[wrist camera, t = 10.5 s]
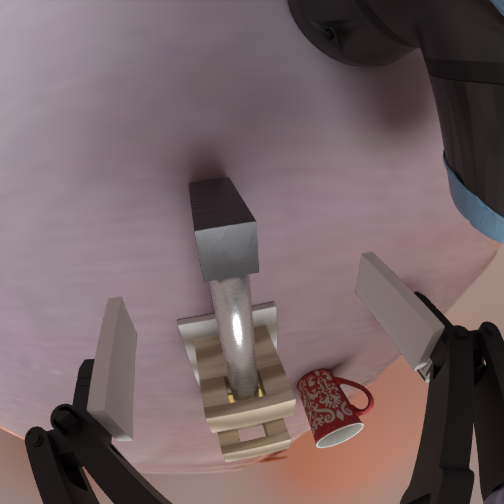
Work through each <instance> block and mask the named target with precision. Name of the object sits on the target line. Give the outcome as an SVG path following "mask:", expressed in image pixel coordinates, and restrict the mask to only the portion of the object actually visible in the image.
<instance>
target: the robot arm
mask: <svg viewBox="0 0 504 504" xmlns="http://www.w3.org/2000/svg"><path fill="white" fill-rule="evenodd" d="M288 1H289V6H290V9H291V12H292V15H293V17H294V19H295V21H296V23H297V25H298V26H299V28H300V29H301V31H302V32H303V33H304V35H305V36H306V37H307V38H308V39H309V40H310V41H311V42H312V43H313V44H314V45H315V46H316V47H317V48H318V49H320V50H321V51H322V52H324V53H325V54H327V55H328V56H330V57H332V58H333V59H335V60H338V61H340V62H342V63H345V64H348V65H353V66H360V67H368V66H382V65H386V64H389V63H392V62H394V61H396V60H398V59H399V58H401V57H403V56H405V55H406V54H408V53H410V52H412V51H413V50H415V49H417V48H421V51H422V54H423V57H424V60H425V63H426V66H427V70H428V74H429V78H430V82H431V85H432V89H433V93H434V98H435V102H436V106H437V111H438V116H439V121H440V126H441V132H442V138H443V145H444V151H443V161H444V164H445V167H446V169H447V173H448V180H449V188H450V193H451V196H452V199H453V201H454V204H455V205H456V207H457V209H458V210H459V212H460V213H461V214H462V215H463V217H464V218H466V219H467V220H469V221H470V223H471V225H472V226H473V227H474V228H476V229H477V230H478V231H480V232H481V233H483V234H484V235H486V236H488V237H489V238H491V239H493V240H495V241H497V242H500V243H503V244H504V0H288ZM355 293H356V294H357V295H358V297H359V298H360V299H361V300H362V302H363V303H364V304H365V306H366V307H367V308H368V309H369V311H370V312H371V313H372V315H373V316H374V317H375V319H376V320H377V321H378V323H379V324H380V325H381V326H382V328H383V329H384V330H385V332H386V333H387V334H388V336H389V337H390V339H391V340H392V341H393V343H394V344H395V345H396V347H397V348H398V349H399V351H400V352H401V354H402V355H403V356H404V358H405V359H406V360H407V362H408V363H409V364H410V366H411V367H412V369H413V370H414V371H415V370H417V369H419V368H421V367H423V366H425V365H426V363H427V361H428V359H429V358H430V359H431V360H432V364H431V365H430V367H429V369H428V370H427V372H426V375H425V376H427V375H428V374H429V372H430V379H429V389H428V397H427V405H426V412H425V419H424V424H423V430H422V436H421V441H420V446H419V450H418V455H417V459H416V463H415V467H414V471H413V475H412V479H411V482H410V485H409V487H408V489H407V490H406V491H405V493H404V495H403V496H402V499H401V501H400V504H470V499H471V494H472V489H473V484H474V472H473V471H472V470H470V469H469V462H470V454H471V445H472V434H473V422H474V429H475V436H476V443H477V452H478V462H479V477H480V488H481V494H482V498H483V504H504V340H503V338H502V336H501V333H500V332H499V329H498V328H497V326H496V325H494V324H493V323H491V322H483V323H482V324H481V326H480V327H479V329H478V330H473V331H468V330H467V329H466V328H465V327H462V326H459V325H457V326H453V325H452V324H451V323H450V322H449V321H448V319H447V318H446V317H445V316H444V315H443V314H442V313H441V312H440V311H439V310H438V309H436V307H435V306H434V305H433V303H431V301H430V300H429V299H428V298H427V297H426V296H424V295H423V294H421V293H419V292H414V293H413V292H412V291H411V290H410V289H409V288H408V286H407V285H406V284H405V283H404V282H403V281H402V280H401V279H400V278H399V277H398V276H397V275H396V274H395V273H394V272H393V271H392V270H391V269H390V268H389V267H388V266H387V265H385V264H384V263H383V262H382V261H381V260H380V259H379V258H378V257H377V256H376V255H375V254H374V253H373V252H368V253H363V254H361V259H360V266H359V272H358V277H357V283H356V289H355ZM136 343H137V333H136V330H135V328H134V326H133V323H132V321H131V319H130V316H129V314H128V312H127V309H126V307H125V304H124V302H123V299H122V297H116V298H110V299H108V302H107V306H106V310H105V314H104V318H103V322H102V327H101V331H100V336H99V340H98V345H97V350H96V355H95V359H87V360H84V362H83V363H82V365H81V366H80V368H79V372H78V377H77V378H78V380H77V382H76V387H75V393H74V399H73V405H70V404H61V405H59V406H57V407H56V408H55V409H54V410H53V412H52V414H51V419H50V422H51V425H52V427H53V428H54V429H53V430H50V431H45V430H44V429H43V428H42V427H38V426H37V427H32V428H31V429H30V430H29V431H28V432H27V433H26V436H25V445H26V449H27V453H28V457H29V461H30V464H31V468H32V471H33V475H34V478H35V481H36V484H37V487H38V490H39V493H40V496H41V498H42V501H43V504H100V503H99V502H98V500H97V498H96V496H95V494H94V492H93V490H92V488H91V486H90V484H89V481H88V479H87V477H86V475H85V472H84V470H83V468H82V467H83V466H84V467H85V469H86V470H87V471H88V473H89V474H90V475H91V477H92V478H93V479H94V480H95V482H96V483H97V484H98V485H99V487H100V488H101V489H102V490H103V491H104V493H105V494H106V495H107V496H108V497H109V498H110V499H111V501H112V502H113V503H114V504H172V503H171V502H170V501H169V500H167V499H166V498H165V497H164V496H163V495H162V494H161V493H159V492H158V491H157V490H156V489H155V488H154V487H153V486H152V485H151V484H150V483H149V482H148V481H147V480H146V479H145V478H144V477H142V475H141V474H140V473H139V472H138V471H137V470H136V469H135V468H134V467H133V466H132V465H131V464H130V463H129V462H128V461H127V460H126V459H125V458H124V457H123V456H122V454H121V453H120V452H119V451H118V450H117V449H116V448H115V446H114V445H113V444H111V441H112V437H113V438H114V439H116V440H117V441H133V393H134V371H135V356H136ZM484 360H485V362H486V365H485V364H484Z"/></svg>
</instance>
